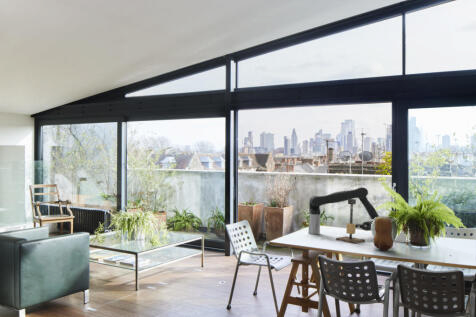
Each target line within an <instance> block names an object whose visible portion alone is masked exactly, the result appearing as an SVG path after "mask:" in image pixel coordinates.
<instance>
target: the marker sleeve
mask: <svg viewBox="0 0 476 317" xmlns="http://www.w3.org/2000/svg"><path fill="white" fill-rule="evenodd" d="M356 224H357V223H353V222H352V224H350V222H349V223H346V232H345V233H346V234H349V235H350V234H352V235H354V234H356V228H355V225H356Z"/></svg>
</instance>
